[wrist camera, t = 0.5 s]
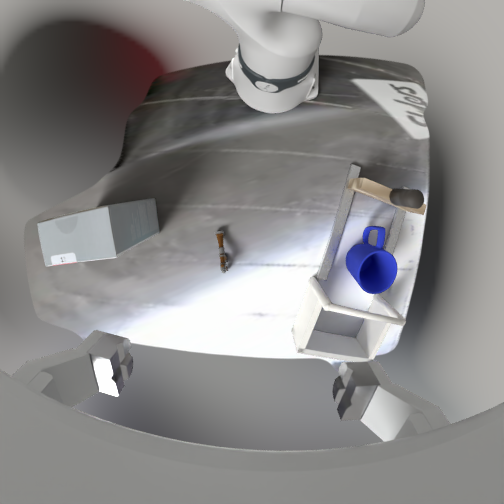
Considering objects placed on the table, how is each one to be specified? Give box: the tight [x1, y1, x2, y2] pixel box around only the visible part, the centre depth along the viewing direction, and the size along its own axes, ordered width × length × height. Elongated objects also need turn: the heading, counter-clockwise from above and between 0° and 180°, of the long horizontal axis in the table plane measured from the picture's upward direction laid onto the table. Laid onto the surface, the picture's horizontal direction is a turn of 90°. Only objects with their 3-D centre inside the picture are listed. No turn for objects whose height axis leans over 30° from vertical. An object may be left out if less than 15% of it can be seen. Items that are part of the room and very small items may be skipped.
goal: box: [292, 277, 406, 362], centre depth 50 cm, size 13×18×14 cm
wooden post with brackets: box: [214, 231, 228, 273], centre depth 53 cm, size 2×8×4 cm, turn 9°
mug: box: [346, 226, 397, 294], centre depth 49 cm, size 8×12×10 cm
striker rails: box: [316, 164, 409, 280], centre depth 52 cm, size 24×15×1 cm, turn 165°
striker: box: [348, 178, 426, 215], centre depth 43 cm, size 3×14×14 cm, turn 75°
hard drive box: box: [38, 198, 160, 266], centre depth 43 cm, size 16×8×20 cm, turn 96°
